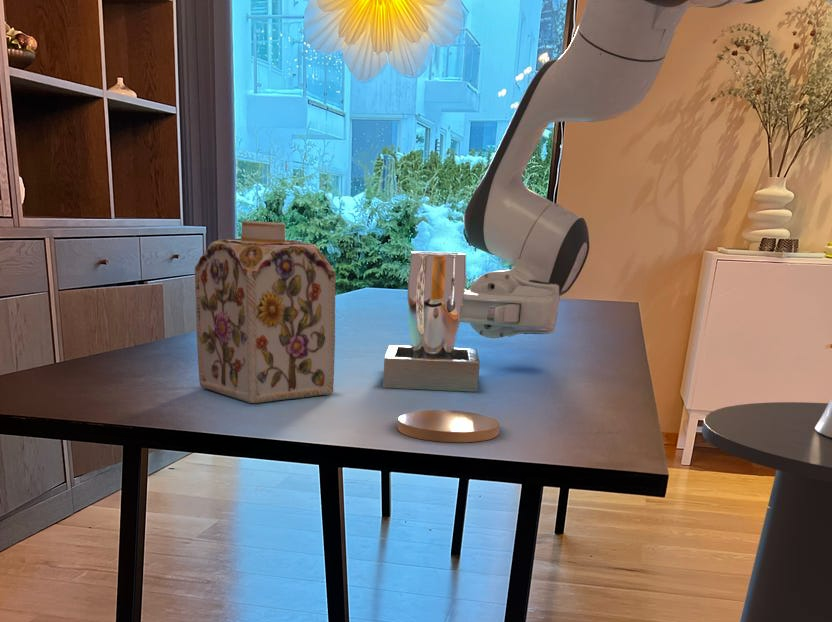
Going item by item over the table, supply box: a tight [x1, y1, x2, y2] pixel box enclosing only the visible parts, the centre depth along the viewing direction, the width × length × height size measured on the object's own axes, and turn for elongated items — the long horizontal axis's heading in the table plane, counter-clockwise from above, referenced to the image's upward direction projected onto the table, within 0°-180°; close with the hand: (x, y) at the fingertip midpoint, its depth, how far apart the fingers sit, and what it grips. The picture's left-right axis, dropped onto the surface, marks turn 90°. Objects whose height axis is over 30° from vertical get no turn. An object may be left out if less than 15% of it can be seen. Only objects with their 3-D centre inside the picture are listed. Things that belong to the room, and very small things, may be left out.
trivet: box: [397, 409, 501, 443], centre depth 88 cm, size 10×10×1 cm
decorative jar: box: [194, 220, 337, 405], centre depth 100 cm, size 12×12×18 cm
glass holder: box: [382, 344, 481, 393], centre depth 113 cm, size 11×11×4 cm
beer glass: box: [406, 251, 467, 360], centre depth 110 cm, size 7×7×15 cm
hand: (458, 312), depth 115 cm, fingers open, 8 cm apart
